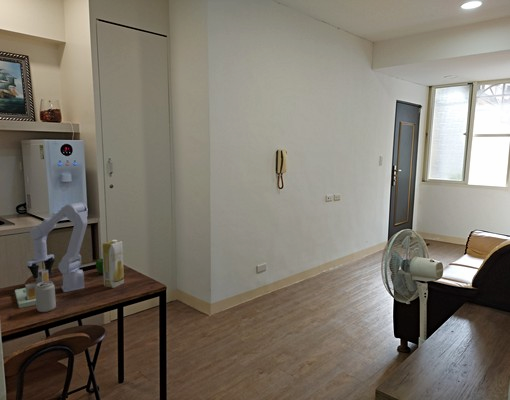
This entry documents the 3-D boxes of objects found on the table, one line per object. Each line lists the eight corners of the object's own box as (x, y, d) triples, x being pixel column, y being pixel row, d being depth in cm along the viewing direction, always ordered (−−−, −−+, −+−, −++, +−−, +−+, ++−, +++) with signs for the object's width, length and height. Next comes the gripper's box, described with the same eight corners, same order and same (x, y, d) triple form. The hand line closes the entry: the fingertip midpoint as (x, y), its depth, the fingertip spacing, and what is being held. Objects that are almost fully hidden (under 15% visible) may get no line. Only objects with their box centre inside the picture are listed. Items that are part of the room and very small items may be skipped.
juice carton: (113, 289, 190) (111, 242, 186) (101, 286, 193) (99, 241, 189) (126, 282, 198) (124, 238, 195) (114, 280, 201) (112, 237, 198)
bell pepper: (100, 276, 208) (100, 258, 206) (93, 272, 213) (92, 255, 212) (115, 272, 214) (114, 255, 213) (107, 269, 219) (107, 252, 218)
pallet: (41, 288, 189) (40, 285, 188) (47, 302, 173) (46, 298, 173) (15, 293, 182) (14, 289, 182) (19, 308, 166) (18, 303, 166)
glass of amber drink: (36, 299, 176) (35, 282, 175) (37, 302, 173) (36, 285, 172) (26, 301, 174) (25, 284, 173) (27, 304, 171) (26, 287, 170)
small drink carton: (43, 283, 196) (42, 268, 195) (49, 284, 195) (48, 269, 194) (36, 286, 192) (35, 271, 191) (42, 287, 191) (41, 272, 190)
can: (41, 306, 169) (39, 280, 167) (58, 305, 170) (57, 280, 168) (33, 313, 162) (31, 286, 160) (51, 312, 162) (49, 286, 161)
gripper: (46, 245, 199) (47, 270, 201) (21, 252, 185) (23, 279, 187) (56, 246, 197) (58, 271, 199) (32, 254, 183) (34, 281, 185)
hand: (42, 275), depth 193 cm, fingers open, 7 cm apart
